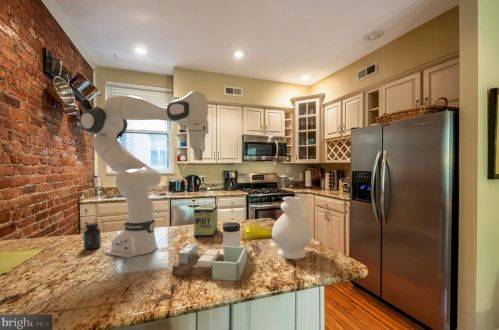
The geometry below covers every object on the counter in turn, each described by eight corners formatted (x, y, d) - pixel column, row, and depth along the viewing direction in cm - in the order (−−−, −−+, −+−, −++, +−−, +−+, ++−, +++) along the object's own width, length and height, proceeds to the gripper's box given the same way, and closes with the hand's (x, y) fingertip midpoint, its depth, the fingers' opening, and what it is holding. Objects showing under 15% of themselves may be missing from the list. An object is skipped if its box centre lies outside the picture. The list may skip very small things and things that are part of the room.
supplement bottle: (80, 251, 108) (80, 226, 108) (90, 245, 115) (89, 222, 115) (95, 250, 108) (94, 225, 108) (103, 245, 115) (103, 222, 115)
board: (172, 274, 84) (172, 266, 84) (187, 259, 97) (187, 252, 97) (213, 277, 81) (213, 268, 81) (223, 261, 94) (223, 254, 94)
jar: (227, 254, 101) (227, 227, 101) (219, 249, 108) (219, 223, 108) (244, 250, 106) (244, 224, 106) (235, 245, 113) (235, 221, 113)
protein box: (194, 237, 126) (193, 209, 126) (201, 229, 141) (200, 204, 141) (212, 237, 125) (212, 209, 125) (217, 229, 141) (217, 204, 141)
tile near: (197, 266, 83) (197, 260, 83) (202, 260, 88) (202, 255, 88) (210, 267, 82) (210, 261, 82) (215, 261, 87) (214, 255, 87)
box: (212, 279, 80) (212, 262, 80) (224, 260, 95) (224, 245, 95) (238, 281, 78) (238, 263, 78) (247, 261, 94) (246, 247, 94)
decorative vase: (298, 244, 113) (297, 194, 113) (321, 257, 96) (320, 199, 96) (265, 249, 107) (264, 196, 107) (283, 264, 90) (283, 202, 90)
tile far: (203, 259, 89) (203, 254, 89) (208, 254, 94) (207, 249, 94) (215, 260, 88) (215, 254, 88) (219, 255, 93) (219, 249, 93)
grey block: (178, 264, 85) (178, 252, 85) (189, 254, 95) (189, 243, 95) (187, 265, 84) (187, 253, 84) (197, 254, 94) (197, 243, 94)
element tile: (242, 231, 137) (242, 223, 137) (266, 229, 140) (266, 222, 140) (247, 239, 123) (246, 230, 123) (273, 237, 125) (273, 228, 125)
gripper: (194, 132, 111) (195, 160, 111) (186, 125, 90) (186, 160, 90) (207, 132, 111) (208, 160, 111) (202, 125, 91) (202, 159, 91)
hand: (198, 160), depth 101 cm, fingers open, 8 cm apart
